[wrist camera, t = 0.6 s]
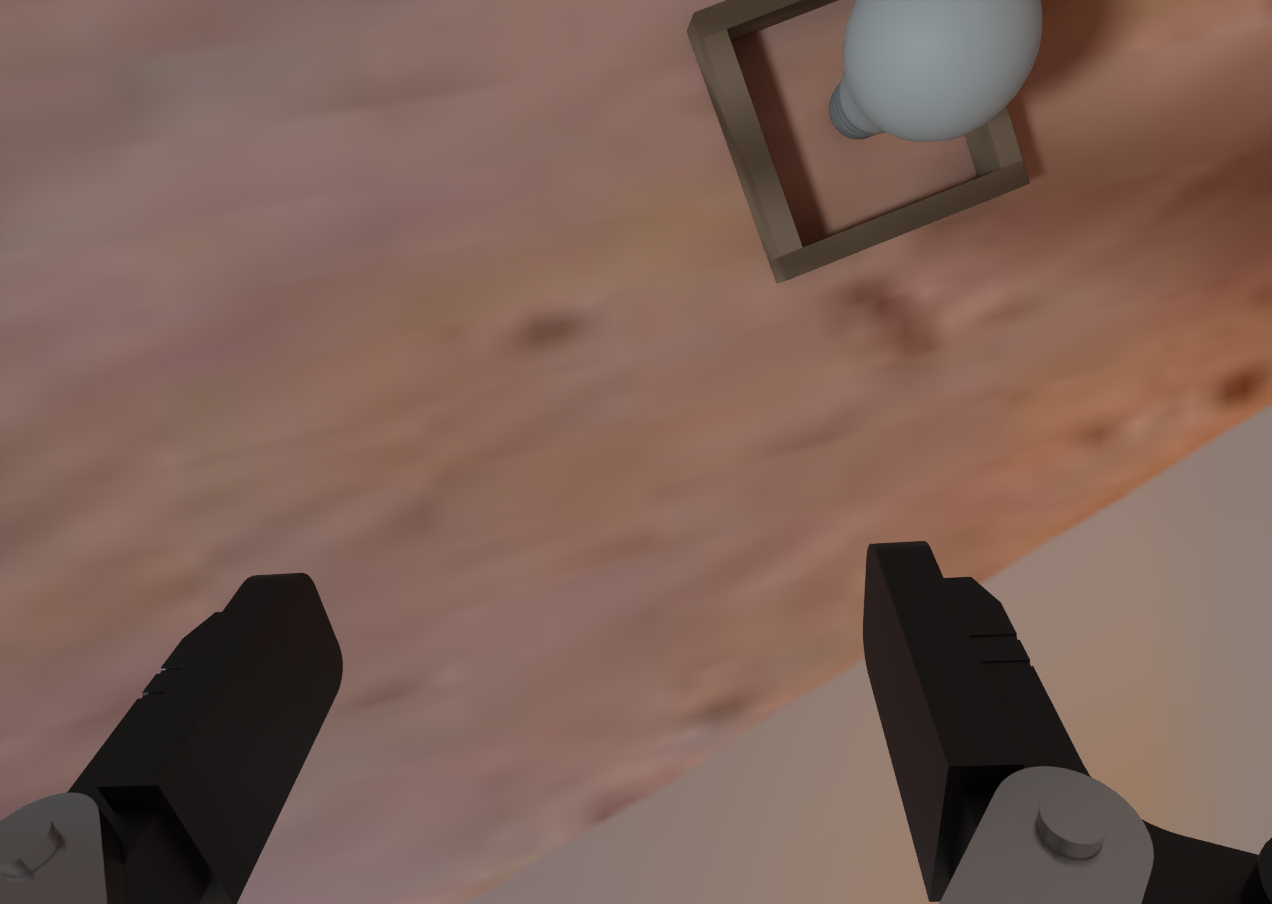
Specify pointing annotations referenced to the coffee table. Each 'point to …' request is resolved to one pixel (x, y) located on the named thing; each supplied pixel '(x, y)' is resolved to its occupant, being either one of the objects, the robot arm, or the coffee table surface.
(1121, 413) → the coffee table surface
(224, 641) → the robot arm
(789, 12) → the square wooden frame
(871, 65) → the lightbulb
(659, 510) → the coffee table surface
